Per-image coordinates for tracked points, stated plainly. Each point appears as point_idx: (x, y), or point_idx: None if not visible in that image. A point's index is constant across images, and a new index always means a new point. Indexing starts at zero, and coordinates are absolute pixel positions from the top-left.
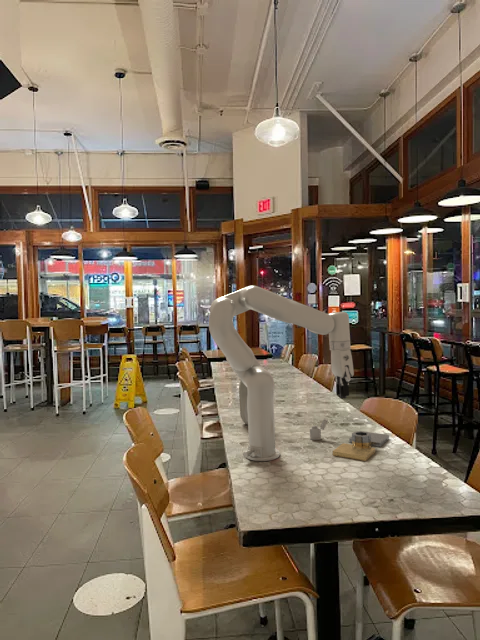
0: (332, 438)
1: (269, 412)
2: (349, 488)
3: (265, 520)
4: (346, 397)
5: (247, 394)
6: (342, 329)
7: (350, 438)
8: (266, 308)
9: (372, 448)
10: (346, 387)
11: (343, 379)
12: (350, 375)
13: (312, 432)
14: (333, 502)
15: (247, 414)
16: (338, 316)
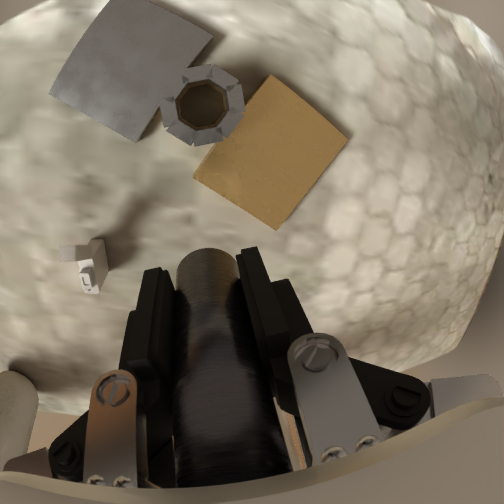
0: (91, 198)
1: (296, 459)
2: (449, 230)
3: (454, 335)
4: (220, 251)
5: (24, 451)
6: None
7: (136, 138)
8: None
9: (274, 85)
10: (309, 333)
11: (286, 448)
12: (385, 456)
13: (101, 279)
14: (466, 263)
15: (34, 410)
16: None
